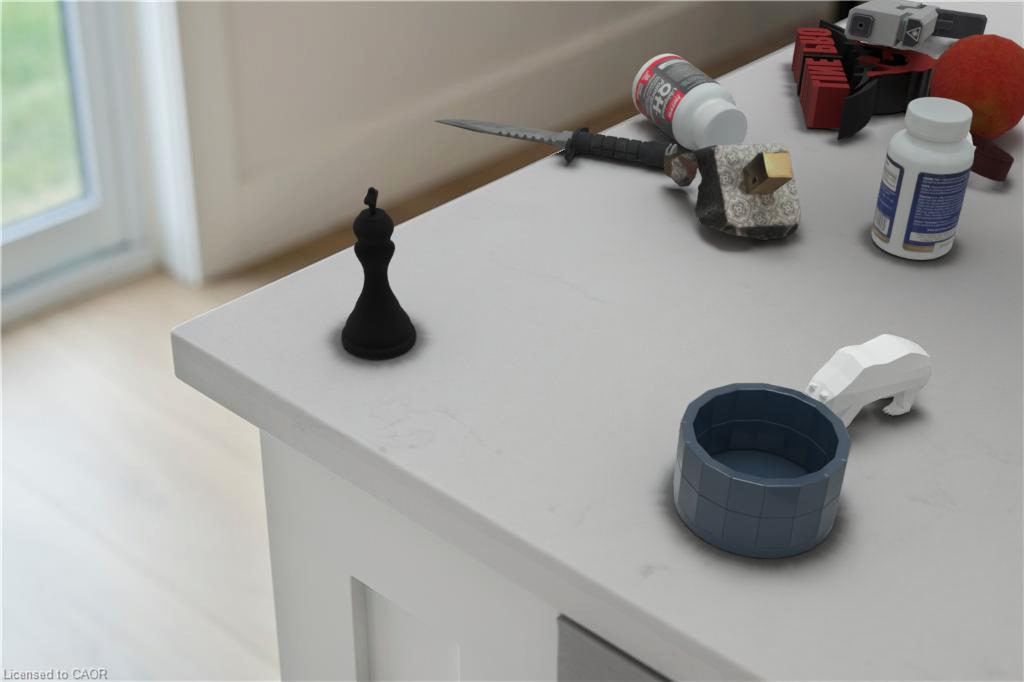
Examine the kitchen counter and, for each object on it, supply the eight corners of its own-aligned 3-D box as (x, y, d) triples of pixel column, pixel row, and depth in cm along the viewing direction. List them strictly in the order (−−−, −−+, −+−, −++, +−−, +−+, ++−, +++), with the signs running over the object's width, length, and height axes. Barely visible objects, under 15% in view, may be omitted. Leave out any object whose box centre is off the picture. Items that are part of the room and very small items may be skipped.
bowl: (774, 436, 67) (786, 368, 64) (868, 530, 61) (885, 459, 58) (644, 474, 64) (651, 405, 62) (729, 577, 58) (740, 505, 56)
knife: (448, 120, 101) (422, 142, 97) (447, 98, 100) (421, 119, 96) (680, 156, 95) (663, 181, 91) (682, 133, 94) (665, 157, 90)
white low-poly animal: (925, 409, 69) (943, 340, 67) (812, 451, 66) (826, 380, 63) (894, 385, 71) (911, 317, 68) (783, 425, 68) (795, 355, 65)
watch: (998, 144, 89) (967, 187, 90) (1034, 166, 91) (1003, 208, 93) (929, 103, 95) (901, 145, 96) (965, 126, 97) (937, 166, 98)
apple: (999, 71, 91) (1015, 2, 95) (901, 101, 96) (920, 35, 100) (1044, 143, 95) (1058, 74, 99) (947, 168, 100) (963, 102, 104)
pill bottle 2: (963, 239, 85) (997, 106, 80) (933, 271, 82) (966, 133, 76) (889, 215, 88) (916, 85, 82) (856, 245, 84) (883, 110, 79)
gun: (990, 12, 118) (883, -7, 121) (979, 29, 96) (849, 6, 99) (983, 38, 119) (877, 20, 122) (970, 62, 97) (841, 38, 100)
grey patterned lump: (720, 120, 92) (831, 123, 82) (737, 210, 94) (847, 224, 84) (629, 151, 89) (732, 159, 78) (648, 243, 91) (751, 262, 80)
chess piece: (330, 353, 73) (318, 200, 67) (356, 313, 76) (347, 165, 71) (403, 364, 72) (397, 211, 66) (425, 324, 75) (421, 174, 70)
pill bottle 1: (627, 63, 97) (693, 111, 90) (687, 43, 99) (756, 89, 91) (631, 124, 101) (695, 175, 93) (689, 104, 102) (756, 153, 95)
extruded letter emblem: (808, 138, 98) (953, 146, 97) (815, 97, 96) (963, 105, 95) (787, 55, 113) (912, 61, 112) (792, 18, 111) (920, 24, 110)
